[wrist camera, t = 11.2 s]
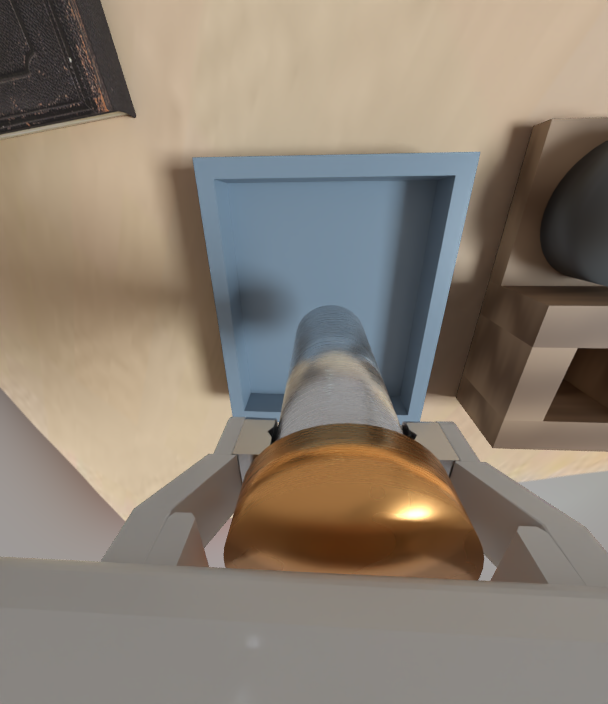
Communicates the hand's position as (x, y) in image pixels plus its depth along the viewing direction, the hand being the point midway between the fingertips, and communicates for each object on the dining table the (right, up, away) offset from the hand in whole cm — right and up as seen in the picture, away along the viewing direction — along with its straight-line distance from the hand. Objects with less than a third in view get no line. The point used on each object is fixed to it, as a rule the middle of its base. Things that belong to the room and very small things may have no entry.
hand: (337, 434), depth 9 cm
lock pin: (0, +3, +7) cm, 8 cm away
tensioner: (+18, +7, +11) cm, 22 cm away
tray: (+1, +6, +13) cm, 14 cm away
